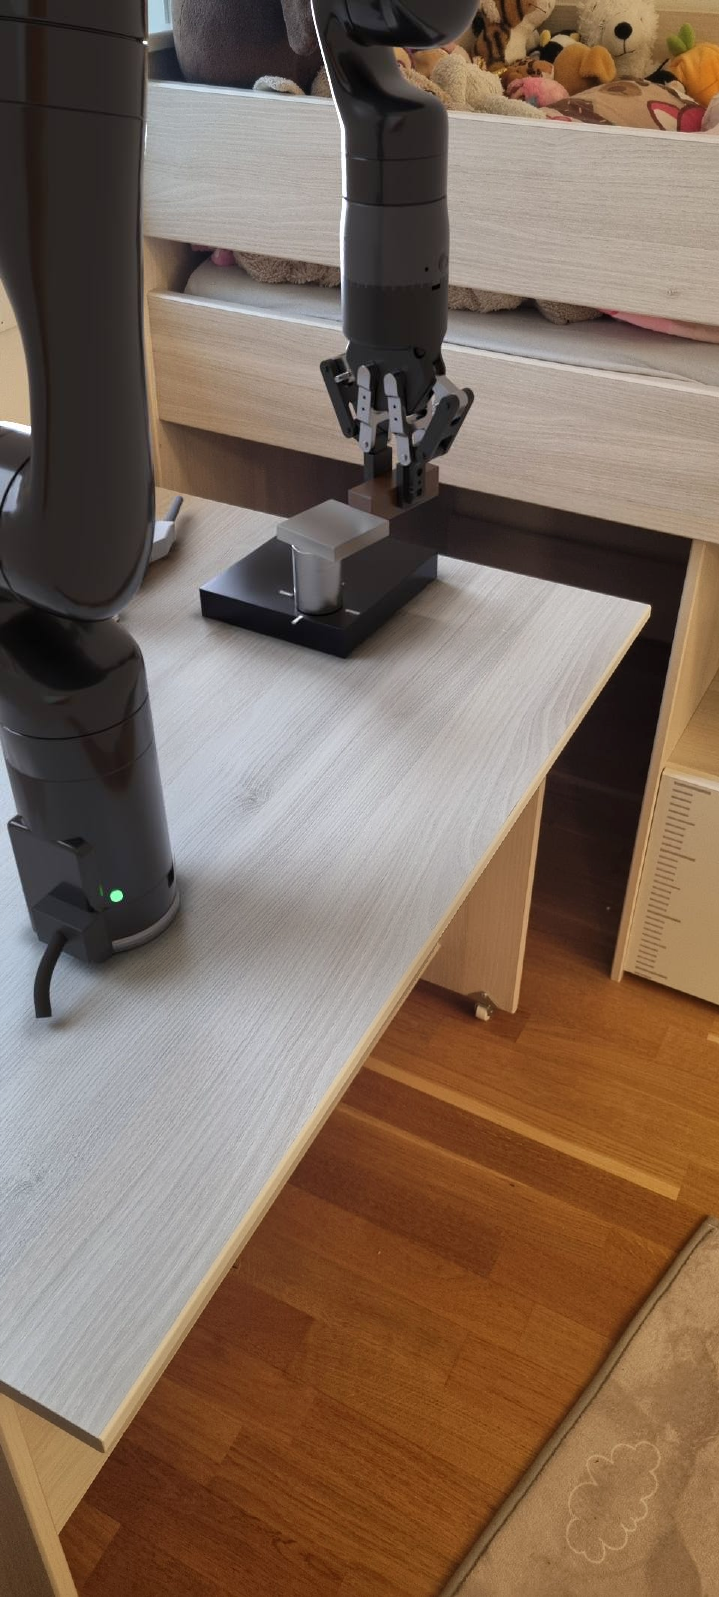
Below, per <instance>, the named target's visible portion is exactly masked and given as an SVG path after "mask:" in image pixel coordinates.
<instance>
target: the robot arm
mask: <svg viewBox="0 0 719 1597" xmlns="http://www.w3.org/2000/svg"><path fill="white" fill-rule="evenodd" d="M480 4H481V0H310V7H311V12H312V17H313V22H314V26H315V32H316V35H317V38H318V43H319V48H320V50H321V55H322V58H323V62H324V66H325V70H326V74H327V77H328V82H329V87H330V92H331V95H332V99H333V102H334V105H335V108H336V112H337V117H338V122H339V125H340V131H341V187H342V189H341V190H342V192H341V193H342V204H341V205H342V206H341V215H340V226H339V252H340V254H339V255H340V294H341V296H340V298H341V300H340V301H341V330H342V331H341V332H342V334H343V336H344V337H345V339H346V340H348V343H347V345H346V347H345V352H343V353H341V354H337V355H335V356H333V357H329V358H327V359H324V360H322V361H320V363H319V371H320V374H321V377H322V379H323V383H324V386H325V388H326V391H327V394H328V396H329V399H330V402H331V404H332V408H333V410H334V413H335V416H336V419H337V421H338V424H339V427H340V430H341V432H342V435H343V436H344V437H345V438H346V439H352V438H353V439H354V440H355V441H357V443H358V445H359V448H360V450H361V451H362V452H363V483H365V482H367V481H369V480H372V479H374V478H376V477H378V476H380V475H382V474H385V473H387V472H389V471H391V470H393V446H390V445H388V444H389V443H391V442H392V439H393V438H392V437H393V435H395V442H396V453H397V460H398V462H397V463H395V468H396V487H397V507H398V508H400V509H403V510H407V511H409V510H411V509H413V508H415V507H417V506H419V505H420V504H419V503H420V501H421V500H422V499H423V498H424V495H425V471H426V463H430V462H431V461H433V460H435V459H437V458H439V457H443V456H445V455H447V454H448V453H449V451H450V449H451V448H452V446H453V443H454V441H455V440H456V437H457V435H458V433H459V431H460V429H461V427H462V426H463V423H464V422H465V420H466V417H467V416H468V414H469V412H470V410H471V408H472V405H473V404H474V401H475V394H474V391H473V390H472V389H471V388H470V387H464V388H461V389H459V388H458V386H456V385H455V384H454V383H453V382H452V381H451V380H450V379H449V378H448V377H447V376H446V374H447V367H446V364H445V361H444V358H443V353H442V346H443V342H444V339H445V336H446V335H447V332H448V316H449V314H448V313H449V286H450V285H449V284H450V283H449V279H450V250H451V249H450V245H451V244H450V243H451V241H450V240H451V237H450V236H451V229H450V218H449V216H450V215H449V208H448V207H449V206H448V176H449V174H448V172H449V171H448V170H449V169H448V167H449V142H450V141H449V140H450V138H449V137H450V124H449V123H450V122H449V114H448V110H447V107H446V105H445V103H444V101H442V100H441V98H440V97H438V96H437V95H435V94H433V93H431V92H429V91H427V90H424V89H421V88H420V87H418V86H416V85H414V84H412V83H410V82H409V81H408V80H407V79H406V78H405V77H404V75H403V73H402V71H401V69H400V66H399V65H400V64H399V63H398V59H397V55H396V52H395V48H401V49H402V48H403V49H413V50H415V49H416V50H434V49H440V48H444V47H446V46H449V45H450V44H453V43H454V42H456V41H457V40H458V39H460V37H462V35H464V33H465V32H467V30H468V29H469V28H470V26H471V25H472V23H473V21H474V19H475V17H476V15H477V12H478V9H479V6H480ZM148 43H149V0H0V281H1V283H2V286H3V289H4V292H5V294H6V296H7V300H8V302H9V304H10V307H11V309H12V312H13V316H14V319H15V322H16V325H17V328H18V331H19V335H20V339H21V343H22V344H21V345H22V348H23V353H24V358H25V359H24V360H25V365H26V373H27V385H28V398H29V399H28V400H29V418H30V420H29V422H30V426H28V425H24V424H21V423H15V422H10V421H0V746H1V750H2V755H3V759H4V763H5V767H6V772H7V776H8V780H9V784H10V785H9V786H10V789H11V792H12V797H13V802H14V805H15V809H16V814H15V815H14V816H13V817H11V818H10V819H9V820H8V821H7V823H6V829H7V832H8V837H9V840H10V846H11V849H12V853H13V858H14V861H15V865H16V868H17V872H18V876H19V882H20V885H21V888H22V893H23V896H24V900H25V904H26V905H25V906H26V908H27V913H28V917H29V921H30V925H31V928H32V932H34V933H36V937H37V940H38V941H39V942H41V943H44V944H46V945H47V946H46V949H45V950H44V953H43V955H42V957H41V959H40V961H39V963H38V967H37V970H36V974H35V978H34V982H33V1006H34V1014H35V1019H44V1018H52V1017H53V1013H52V1003H51V995H50V994H51V984H52V983H51V982H52V978H53V975H54V971H55V968H56V965H57V963H58V962H59V958H60V957H61V955H62V952H63V953H65V954H67V955H69V956H71V957H72V958H75V959H77V960H80V961H82V962H83V963H86V964H88V965H90V964H91V963H92V962H94V961H96V962H98V963H103V962H105V961H107V959H108V958H110V957H111V956H112V955H113V954H116V953H120V952H125V951H128V950H131V949H134V948H136V947H139V946H141V945H144V944H146V943H147V942H150V941H151V940H152V939H154V938H156V937H157V936H158V935H160V934H161V933H162V932H164V930H166V928H167V927H168V926H169V925H170V924H171V923H172V921H173V920H174V918H175V917H176V914H177V912H178V910H179V907H180V900H181V898H180V897H181V896H180V889H179V885H178V878H177V867H176V863H177V862H176V856H175V854H173V850H172V844H171V838H170V832H169V824H168V818H167V817H168V816H167V810H166V804H165V803H166V802H165V796H164V790H163V789H164V788H163V782H162V775H161V770H160V769H161V768H160V762H159V755H158V749H157V742H156V741H157V740H156V735H155V729H154V728H155V726H154V719H153V712H152V706H151V699H150V698H151V697H150V691H149V684H148V676H147V675H148V674H147V670H146V663H145V659H144V654H143V652H142V650H141V647H140V645H139V644H138V642H137V641H136V640H135V638H134V637H133V636H132V635H131V633H129V632H128V631H127V630H126V629H125V628H124V627H123V626H122V625H121V624H120V623H119V622H118V621H115V620H114V619H113V618H112V617H114V616H115V615H117V614H118V615H119V614H120V613H121V612H122V611H123V610H124V609H125V608H126V607H128V605H129V604H130V603H131V602H132V601H133V599H134V598H135V596H136V595H137V593H138V592H139V590H140V588H141V585H142V584H143V581H144V580H145V577H146V574H147V571H148V569H149V564H150V562H149V561H150V558H151V553H152V549H153V541H154V533H155V521H156V518H157V516H156V515H157V514H156V511H157V510H156V509H157V507H156V504H157V503H156V481H155V465H154V452H153V451H154V450H153V439H152V427H151V415H150V414H151V413H150V400H149V390H148V389H149V387H148V386H149V385H148V372H147V356H146V355H147V354H146V339H145V288H144V287H145V284H144V283H145V279H144V278H145V277H144V276H145V275H144V274H145V273H144V271H145V270H144V269H145V268H144V266H145V265H144V263H145V262H144V260H145V259H144V258H145V257H144V201H145V200H144V197H145V196H144V194H145V193H144V192H145V191H144V189H145V188H144V187H145V166H146V165H145V164H146V148H147V128H148V121H147V119H148V99H149V98H148V95H149V92H148V91H149V90H148V88H149V46H148ZM433 397H434V400H432V398H433ZM432 401H433V403H432ZM350 404H351V406H352V408H353V411H354V414H355V416H356V418H354V417H353V413H352V411H351V408H350ZM418 504H419V505H418ZM416 505H417V506H416ZM414 506H415V507H414ZM412 507H413V508H412ZM410 508H411V509H410ZM408 509H409V510H408Z"/></svg>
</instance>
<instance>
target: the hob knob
mask: <svg viewBox="0 0 719 1597" xmlns="http://www.w3.org/2000/svg"><path fill="white" fill-rule="evenodd" d="M292 553H293V573H294V592H295V606H296V607H297V609H299V610H300V611H302V612H304V613H307V614H313V615H323V614H329V613H332V612H335V611H337V610H338V609H339V608H341V606H342V604H343V586H342V559H341V560H339V561H337V562H336V563H334V562H332V561H329V560H327V559H324V558H322V557H320V556H317V555H315V554H312V553H310V552H307V551H305V550H303V549H300V548H298V547H295V546H293V545H292Z"/></svg>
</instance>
